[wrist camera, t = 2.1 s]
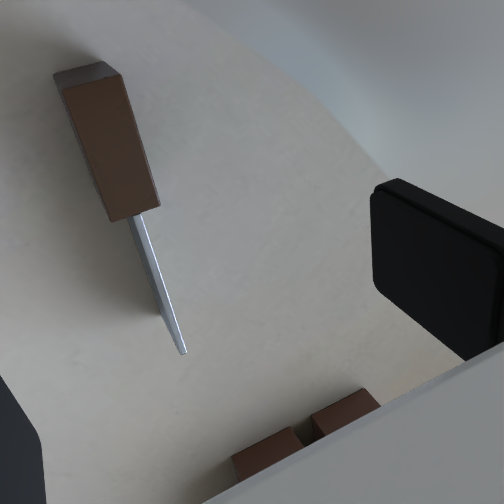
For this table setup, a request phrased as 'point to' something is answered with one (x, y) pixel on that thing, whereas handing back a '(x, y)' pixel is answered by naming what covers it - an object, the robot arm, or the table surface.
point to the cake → (289, 443)
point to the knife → (116, 161)
